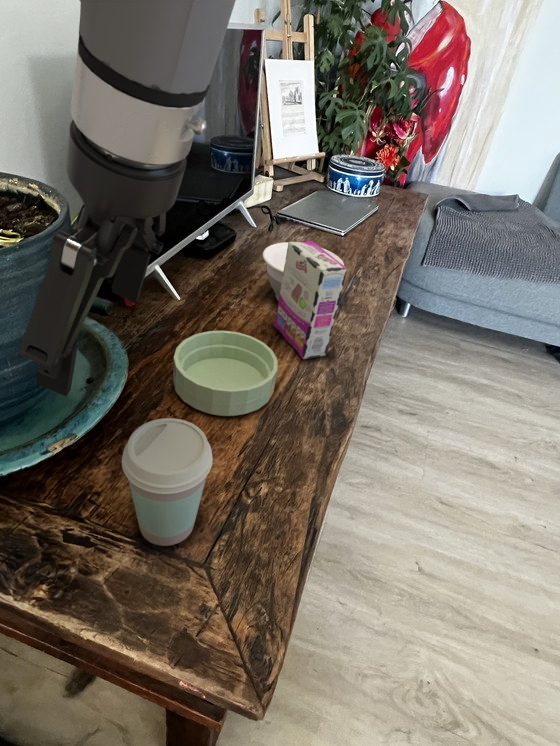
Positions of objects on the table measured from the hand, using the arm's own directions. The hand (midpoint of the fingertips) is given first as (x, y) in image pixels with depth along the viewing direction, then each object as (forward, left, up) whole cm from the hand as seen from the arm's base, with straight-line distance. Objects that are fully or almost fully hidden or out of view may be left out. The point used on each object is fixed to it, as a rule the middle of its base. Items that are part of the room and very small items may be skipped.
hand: (92, 337), depth 48 cm
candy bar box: (+25, +33, -19) cm, 45 cm away
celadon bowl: (+13, +18, -18) cm, 29 cm away
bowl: (+25, +49, -19) cm, 58 cm away
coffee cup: (+9, -7, -19) cm, 22 cm away
